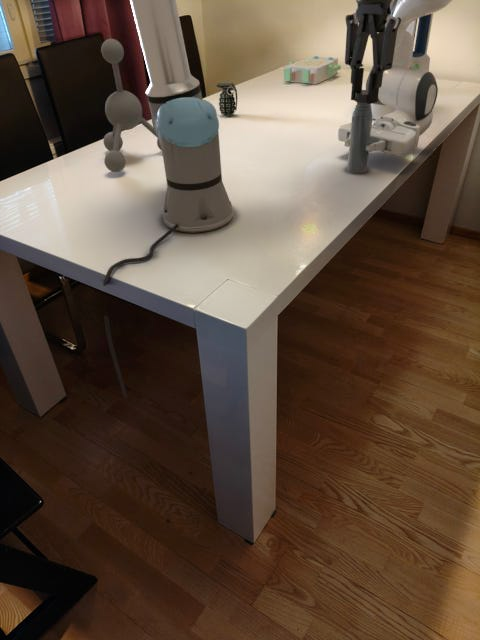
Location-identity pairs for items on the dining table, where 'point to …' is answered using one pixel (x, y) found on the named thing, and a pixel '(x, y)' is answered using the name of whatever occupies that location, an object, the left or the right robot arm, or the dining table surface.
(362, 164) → the bottle
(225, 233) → the dining table surface
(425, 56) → the electronic device
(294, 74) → the decorative block
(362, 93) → the cap
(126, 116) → the molecular model
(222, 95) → the grenade
